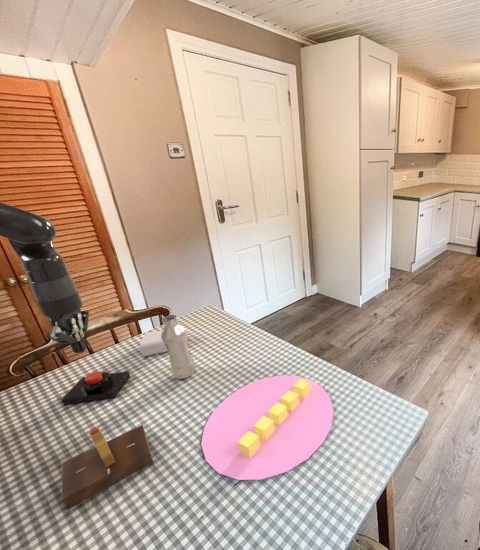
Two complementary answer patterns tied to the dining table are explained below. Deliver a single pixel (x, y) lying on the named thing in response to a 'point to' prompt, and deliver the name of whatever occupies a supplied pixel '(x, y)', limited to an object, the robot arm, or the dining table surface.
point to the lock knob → (102, 447)
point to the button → (93, 378)
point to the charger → (154, 343)
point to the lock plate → (95, 476)
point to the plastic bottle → (177, 347)
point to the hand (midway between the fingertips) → (81, 351)
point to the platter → (267, 427)
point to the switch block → (97, 389)
